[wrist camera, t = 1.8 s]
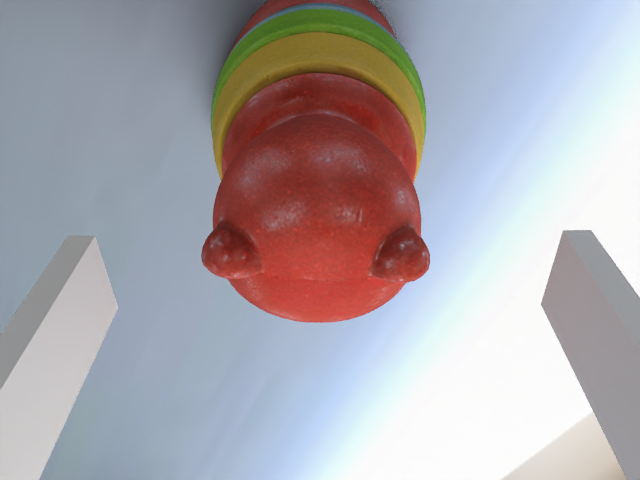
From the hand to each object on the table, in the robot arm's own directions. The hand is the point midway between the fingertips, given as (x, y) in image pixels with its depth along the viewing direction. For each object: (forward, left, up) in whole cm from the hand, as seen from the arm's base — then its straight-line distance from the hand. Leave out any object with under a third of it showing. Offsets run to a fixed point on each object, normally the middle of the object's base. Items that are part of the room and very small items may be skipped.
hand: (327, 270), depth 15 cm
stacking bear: (0, 0, -17) cm, 17 cm away
